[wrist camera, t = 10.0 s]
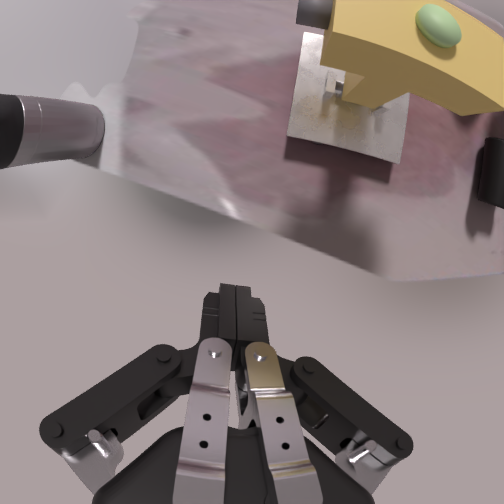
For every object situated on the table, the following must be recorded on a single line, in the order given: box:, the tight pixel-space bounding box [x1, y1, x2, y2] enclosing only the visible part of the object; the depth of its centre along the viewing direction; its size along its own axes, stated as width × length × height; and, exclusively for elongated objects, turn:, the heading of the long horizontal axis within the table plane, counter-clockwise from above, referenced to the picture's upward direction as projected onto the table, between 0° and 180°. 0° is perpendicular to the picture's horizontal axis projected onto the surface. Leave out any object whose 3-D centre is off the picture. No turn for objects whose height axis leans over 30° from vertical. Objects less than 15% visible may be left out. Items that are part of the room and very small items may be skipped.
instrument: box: [296, 0, 504, 116], centre depth 18 cm, size 16×6×20 cm, turn 80°
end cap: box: [477, 137, 504, 209], centre depth 29 cm, size 10×7×7 cm
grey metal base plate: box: [287, 32, 410, 164], centre depth 29 cm, size 15×15×6 cm
